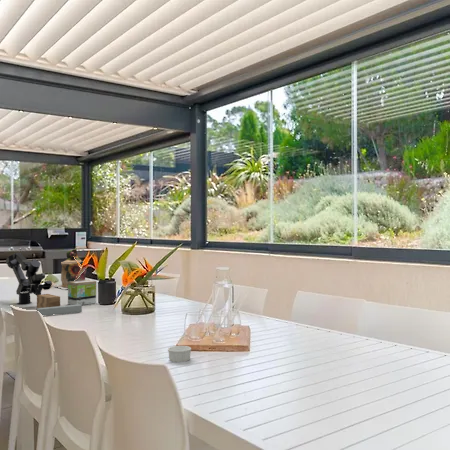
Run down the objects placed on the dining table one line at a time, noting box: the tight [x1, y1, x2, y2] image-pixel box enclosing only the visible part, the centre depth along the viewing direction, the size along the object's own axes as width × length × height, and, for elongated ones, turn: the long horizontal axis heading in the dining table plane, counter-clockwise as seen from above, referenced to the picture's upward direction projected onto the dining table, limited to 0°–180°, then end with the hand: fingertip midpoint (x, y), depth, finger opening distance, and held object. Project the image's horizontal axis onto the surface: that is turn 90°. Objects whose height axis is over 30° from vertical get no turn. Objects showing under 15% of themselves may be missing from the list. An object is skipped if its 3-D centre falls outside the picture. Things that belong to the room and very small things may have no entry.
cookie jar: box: [53, 247, 87, 291], centre depth 391 cm, size 25×25×32 cm
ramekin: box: [167, 345, 192, 363], centre depth 184 cm, size 9×9×4 cm
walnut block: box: [36, 293, 61, 309], centre depth 286 cm, size 16×7×9 cm, turn 45°
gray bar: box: [36, 304, 83, 316], centre depth 275 cm, size 24×4×4 cm, turn 123°
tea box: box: [67, 279, 97, 306], centre depth 310 cm, size 15×10×15 cm, turn 143°
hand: (40, 296), depth 294 cm, fingers closed
